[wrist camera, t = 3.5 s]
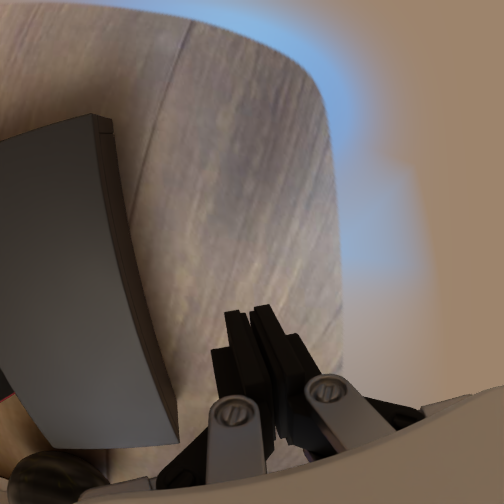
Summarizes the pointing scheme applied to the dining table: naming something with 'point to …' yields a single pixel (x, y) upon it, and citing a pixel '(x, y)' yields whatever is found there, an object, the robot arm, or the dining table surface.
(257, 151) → the dining table surface
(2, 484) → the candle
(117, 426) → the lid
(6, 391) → the smartphone
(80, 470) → the decorative stone
